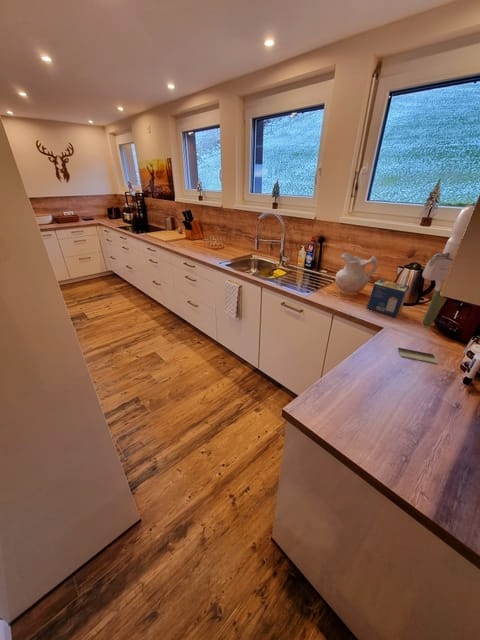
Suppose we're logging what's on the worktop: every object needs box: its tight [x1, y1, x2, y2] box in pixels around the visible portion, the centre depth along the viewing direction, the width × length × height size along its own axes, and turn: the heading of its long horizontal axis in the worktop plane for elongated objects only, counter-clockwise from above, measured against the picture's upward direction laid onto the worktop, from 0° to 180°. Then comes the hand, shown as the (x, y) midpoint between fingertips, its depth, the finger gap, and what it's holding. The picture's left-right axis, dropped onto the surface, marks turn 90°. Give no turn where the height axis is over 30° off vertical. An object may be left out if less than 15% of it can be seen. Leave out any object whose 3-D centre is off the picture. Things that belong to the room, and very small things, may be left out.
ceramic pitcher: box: [335, 252, 379, 296], centre depth 164 cm, size 22×20×25 cm
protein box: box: [366, 278, 410, 319], centre depth 142 cm, size 10×15×16 cm
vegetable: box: [422, 283, 448, 329], centre depth 100 cm, size 4×4×20 cm
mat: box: [397, 347, 438, 365], centre depth 110 cm, size 13×11×1 cm
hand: (442, 290), depth 97 cm, fingers closed on vegetable, 3 cm apart
